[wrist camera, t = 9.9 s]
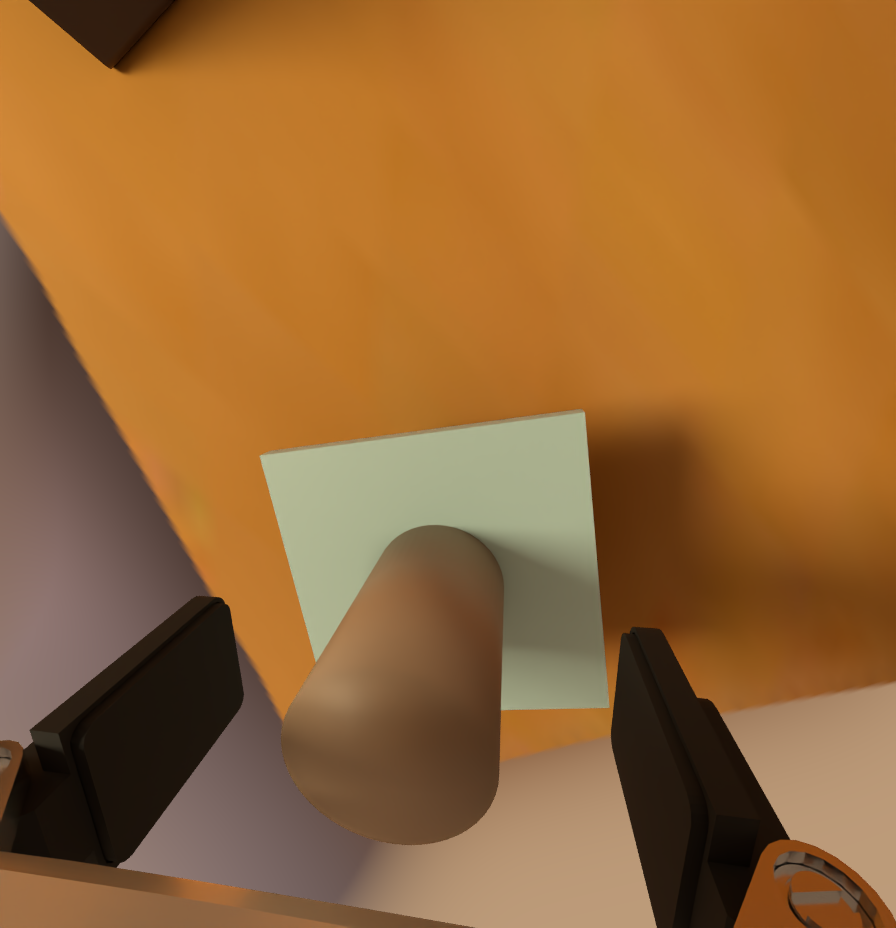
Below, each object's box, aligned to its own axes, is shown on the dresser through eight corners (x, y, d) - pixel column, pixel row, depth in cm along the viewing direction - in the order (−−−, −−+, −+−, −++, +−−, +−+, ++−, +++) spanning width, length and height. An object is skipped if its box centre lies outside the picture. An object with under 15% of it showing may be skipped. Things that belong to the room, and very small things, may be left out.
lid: (269, 450, 14) (69, 542, 8) (581, 408, 12) (655, 481, 6) (336, 700, 16) (225, 930, 10) (605, 693, 15) (678, 962, 8)
